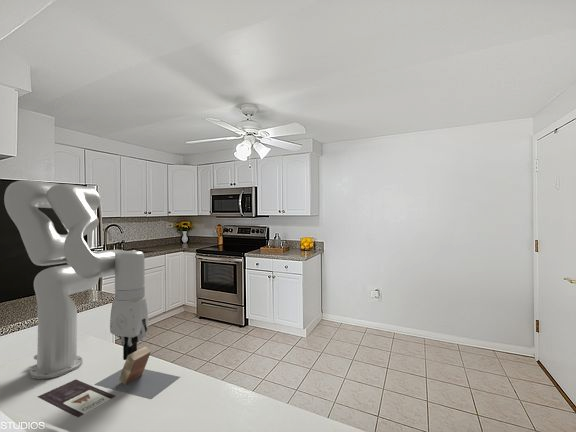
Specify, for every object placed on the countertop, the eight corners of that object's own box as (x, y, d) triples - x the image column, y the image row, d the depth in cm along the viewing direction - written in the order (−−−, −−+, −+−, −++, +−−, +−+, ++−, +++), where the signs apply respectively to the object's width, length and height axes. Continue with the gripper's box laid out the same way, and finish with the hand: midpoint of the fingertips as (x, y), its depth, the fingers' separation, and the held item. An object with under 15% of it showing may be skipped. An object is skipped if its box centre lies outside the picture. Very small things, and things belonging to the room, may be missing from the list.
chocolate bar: (75, 379, 82) (116, 396, 74) (75, 382, 82) (115, 399, 74) (37, 396, 74) (78, 417, 66) (37, 400, 74) (77, 421, 66)
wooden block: (118, 379, 80) (127, 355, 79) (136, 369, 86) (145, 346, 85) (125, 385, 79) (134, 360, 78) (142, 374, 85) (151, 351, 84)
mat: (94, 386, 80) (94, 384, 80) (128, 367, 90) (128, 365, 90) (151, 401, 73) (151, 399, 73) (180, 378, 84) (180, 376, 84)
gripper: (98, 295, 82) (98, 360, 82) (139, 299, 77) (139, 368, 77) (122, 289, 89) (122, 349, 89) (160, 292, 84) (160, 356, 84)
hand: (130, 357), depth 83 cm, fingers closed
